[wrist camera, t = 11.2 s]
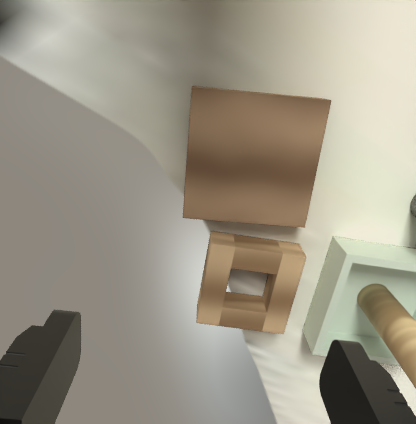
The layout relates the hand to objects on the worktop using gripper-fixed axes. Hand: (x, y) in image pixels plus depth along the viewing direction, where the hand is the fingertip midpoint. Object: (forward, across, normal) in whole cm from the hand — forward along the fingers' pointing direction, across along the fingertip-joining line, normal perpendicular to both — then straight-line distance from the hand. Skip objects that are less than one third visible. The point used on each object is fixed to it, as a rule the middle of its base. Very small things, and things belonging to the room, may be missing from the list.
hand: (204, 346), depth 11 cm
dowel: (+18, -17, +9) cm, 27 cm away
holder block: (+19, -5, +9) cm, 22 cm away
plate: (+20, -4, -2) cm, 20 cm away
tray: (+19, -17, +9) cm, 27 cm away
